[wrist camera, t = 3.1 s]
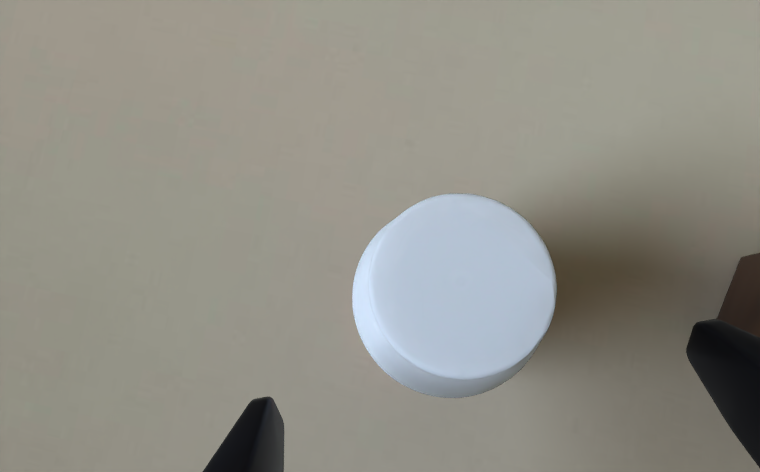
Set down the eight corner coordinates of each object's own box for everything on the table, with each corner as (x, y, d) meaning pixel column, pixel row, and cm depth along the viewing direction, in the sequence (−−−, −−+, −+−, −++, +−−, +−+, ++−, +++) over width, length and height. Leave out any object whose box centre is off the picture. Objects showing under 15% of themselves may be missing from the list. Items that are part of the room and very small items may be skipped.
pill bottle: (488, 244, 19) (572, 153, 9) (503, 371, 17) (619, 413, 8) (367, 253, 19) (329, 172, 9) (374, 378, 18) (338, 428, 8)
